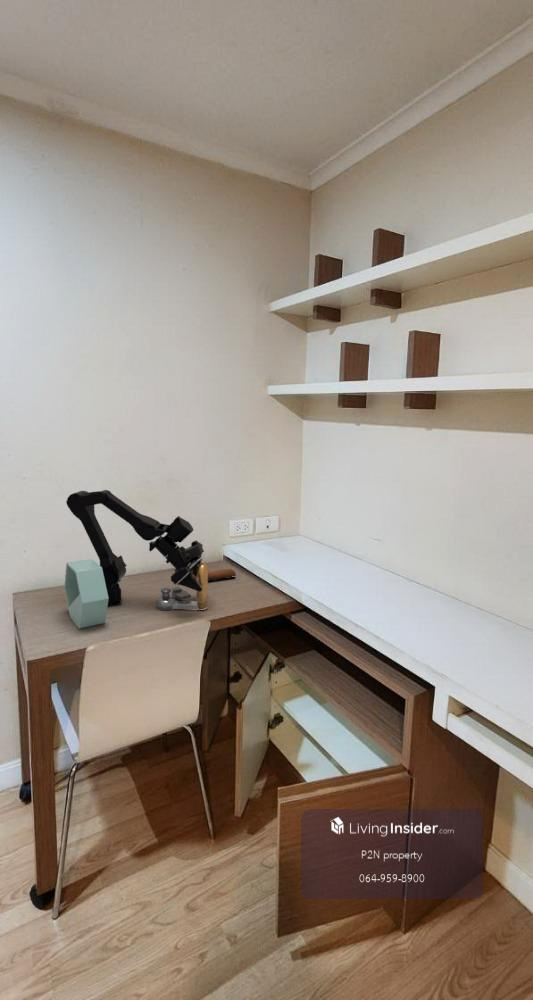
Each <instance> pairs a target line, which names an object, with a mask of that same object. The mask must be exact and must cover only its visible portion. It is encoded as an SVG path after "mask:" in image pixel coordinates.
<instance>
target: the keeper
mask: <svg viewBox="0 0 533 1000" xmlns="http://www.w3.org/2000/svg"><path fill="white" fill-rule="evenodd" d="M171 596H173V597H175V600H183V601H184V600H187V599H191V598H192V594H191V593H189V592H188V591H187V590H184V589H182V588H181V587H178V586H177V587H172V588H171Z"/></svg>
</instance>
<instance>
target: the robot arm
mask: <svg viewBox="0 0 533 1000" xmlns="http://www.w3.org/2000/svg"><path fill="white" fill-rule="evenodd" d="M96 505H103V506H104V507H106V509H108V510H109V511H111V512H112V513H114V514H115V515H117V516H118V517H120V518H121V519H123V521H125V522H126V523H128V524H129V525H130V526H131V527H132V528H133V530H134V532H135V533H136V534H137V535H138V536H139V537H140V538H141V539H142V540H144V541H147V542H148V544H149V547H148V548H149V549H148V550H149V552H152V551H153V550H154V549H156V550H157V551H158V552H159V554H161V555H162V556H163V557H164V558H165V562H166V564H169V563H170V565H172V566H173V568H174V573H172V575H171V576H170V581H171V582H172V583H173V584H174V585H177V586H182V587H186V588H189V589H192V590H194V591H196V592H197V591H199V592H201V591H202V588H201V586H200V585H199V584H198V582H197V581H196V580H195V578H194V577H193V575H194V576H196V577H197V564H200V563H202V562H203V561H202V560H203V558H202V557H203V556H202V555H203V553H204V552H205V551H204V548H203V547H204V545H203V544H202V543H201V542H199V541H198V540H194V541H191V543H190V546H189V547H187V548H185V547H184V546H182V545H181V546H180V545H178V544H177V543H182V542H184V540H185V539H187V537H188V536H190V535H191V534H192V532H193V531H194V527H193V526H192V525H191V523H190V522H189V521H187V520H186V519H184V518H182V517H181V516H180V515H177V517H175V519H173V521H172V522H171V523H170V524H166V523H160V521H158V520H157V519H155V518H153V517H151V516H148V515H144V514H142V513H140V512H138V511H137V510H135V509H134V508H133V507H131V506H130V505H128V504H127V503H125V502H124V501H123V500H121V499H120V498H118V497H117V496H116V495H114V494H113V493H112V492H111V491H110V490H108V489H103V490H98V491H86V490H79V491H76V492H74V493H72V494H69V495H68V496H67V499H66V506H67V508H68V509H69V511H71V514H72V515H73V516H74V517H76V518H77V519H78V520H79V521H80V522H81V524H82V526H83V528H84V530H85V532H86V535H87V536H88V538H89V541H90V544H91V545H92V547H93V549H94V551H95V553H96V555H97V558H98V559H99V565H100V566H101V567H102V570H103V574H104V579H105V584H106V588H107V593H108V598H109V599H108V606H107V607H110V606H111V607H112V606H117V605H121V604H122V602H121V601H122V588H121V587H120V584H119V583H120V582H121V581H122V578H124V576H126V573H127V568H126V567H127V566H128V565H127V564H126V563H125V562H124V558H123V555H118V556H117V555H116V554H115V553H114V552H113V550H112V548H111V546H110V544H109V541H108V540H107V537H106V536H105V533H104V531H103V529H102V527H101V525H100V523H99V521H98V519H97V517H96V515H95V506H96ZM165 533H166V534H165ZM164 534H165V535H164ZM163 535H164V536H163ZM154 539H155V540H154ZM152 540H154V541H152ZM149 541H150V542H149ZM208 582H210V581H209V579H208Z"/></svg>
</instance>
